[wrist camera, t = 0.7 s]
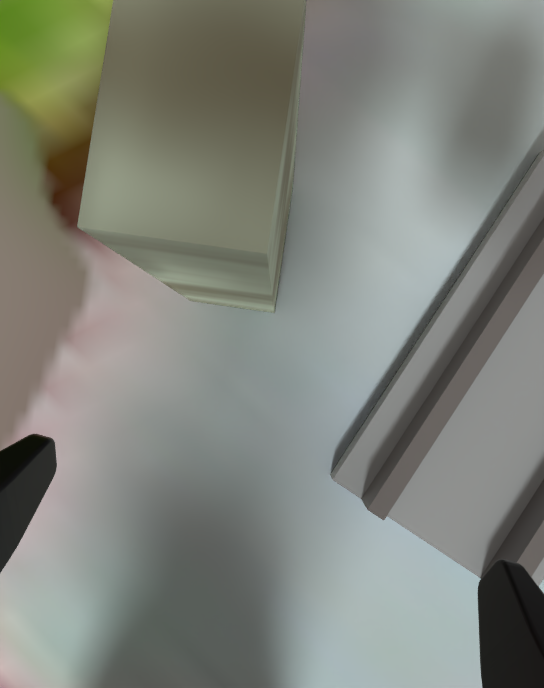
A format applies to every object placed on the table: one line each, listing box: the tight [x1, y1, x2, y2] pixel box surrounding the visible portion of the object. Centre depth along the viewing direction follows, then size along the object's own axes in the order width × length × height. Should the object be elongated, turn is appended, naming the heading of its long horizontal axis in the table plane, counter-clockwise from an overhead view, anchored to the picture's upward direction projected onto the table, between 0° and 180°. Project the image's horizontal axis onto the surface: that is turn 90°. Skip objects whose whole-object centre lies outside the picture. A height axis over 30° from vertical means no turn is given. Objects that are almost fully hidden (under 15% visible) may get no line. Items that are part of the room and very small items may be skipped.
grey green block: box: [77, 0, 306, 313], centre depth 16 cm, size 6×4×12 cm, turn 172°
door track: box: [330, 150, 544, 587], centre depth 21 cm, size 18×10×2 cm, turn 147°
